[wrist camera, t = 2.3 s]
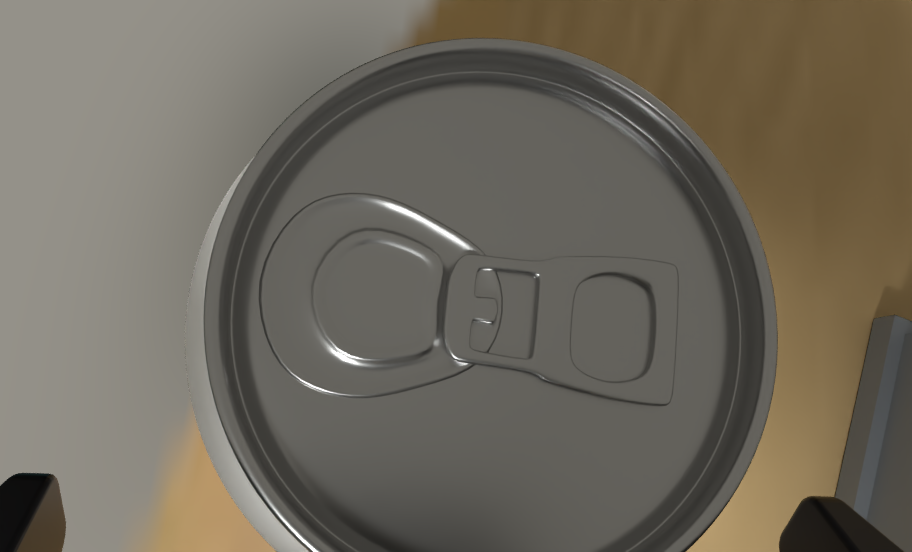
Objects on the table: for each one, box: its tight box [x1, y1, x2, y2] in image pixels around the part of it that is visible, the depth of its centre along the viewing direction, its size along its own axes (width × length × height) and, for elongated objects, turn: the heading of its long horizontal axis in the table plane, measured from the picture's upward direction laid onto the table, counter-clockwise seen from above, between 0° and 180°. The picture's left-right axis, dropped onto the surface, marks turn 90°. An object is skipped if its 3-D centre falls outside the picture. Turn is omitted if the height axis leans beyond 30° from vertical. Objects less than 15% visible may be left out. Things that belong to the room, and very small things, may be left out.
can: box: [185, 38, 778, 552], centre depth 13 cm, size 6×6×12 cm
